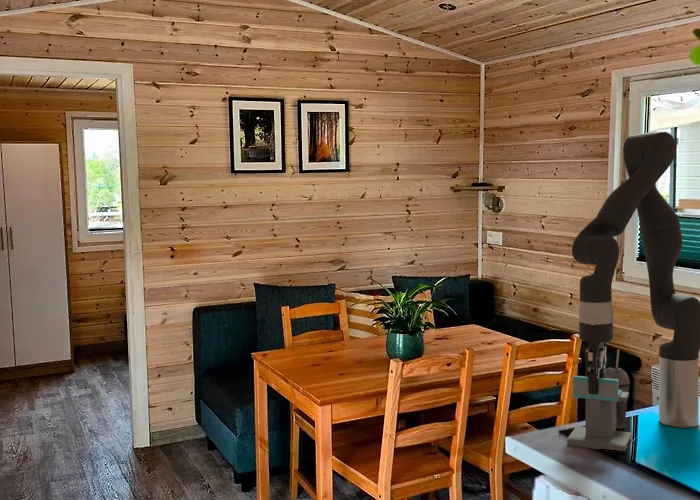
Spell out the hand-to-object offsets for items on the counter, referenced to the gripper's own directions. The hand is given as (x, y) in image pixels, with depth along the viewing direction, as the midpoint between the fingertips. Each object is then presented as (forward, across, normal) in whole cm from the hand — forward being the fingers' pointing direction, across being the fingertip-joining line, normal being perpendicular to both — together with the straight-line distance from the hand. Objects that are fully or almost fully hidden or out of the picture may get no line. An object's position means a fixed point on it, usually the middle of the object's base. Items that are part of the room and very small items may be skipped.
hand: (596, 390), depth 167 cm
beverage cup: (+14, -16, +2) cm, 22 cm away
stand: (+14, -4, 0) cm, 14 cm away
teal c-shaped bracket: (+2, -3, 0) cm, 4 cm away
